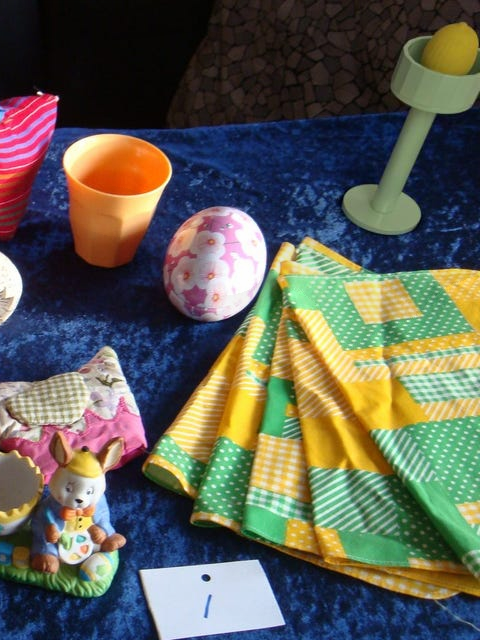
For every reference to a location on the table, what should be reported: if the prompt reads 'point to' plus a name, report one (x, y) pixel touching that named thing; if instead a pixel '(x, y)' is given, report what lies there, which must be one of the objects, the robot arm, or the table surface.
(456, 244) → the table surface
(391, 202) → the green goblet
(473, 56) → the lemon
